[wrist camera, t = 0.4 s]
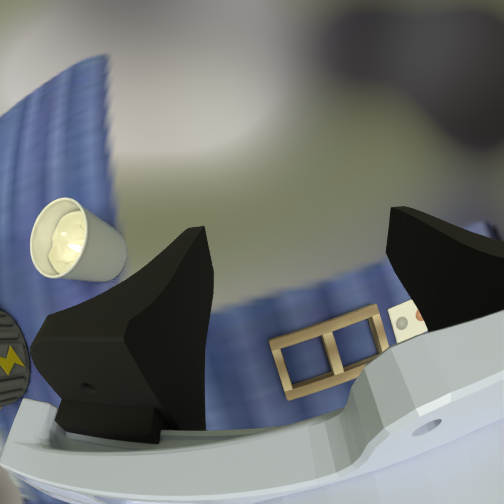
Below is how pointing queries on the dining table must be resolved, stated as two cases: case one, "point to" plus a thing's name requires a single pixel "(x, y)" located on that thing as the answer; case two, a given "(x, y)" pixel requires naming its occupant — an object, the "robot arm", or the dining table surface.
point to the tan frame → (328, 351)
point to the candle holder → (76, 244)
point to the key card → (406, 321)
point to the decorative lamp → (12, 361)
